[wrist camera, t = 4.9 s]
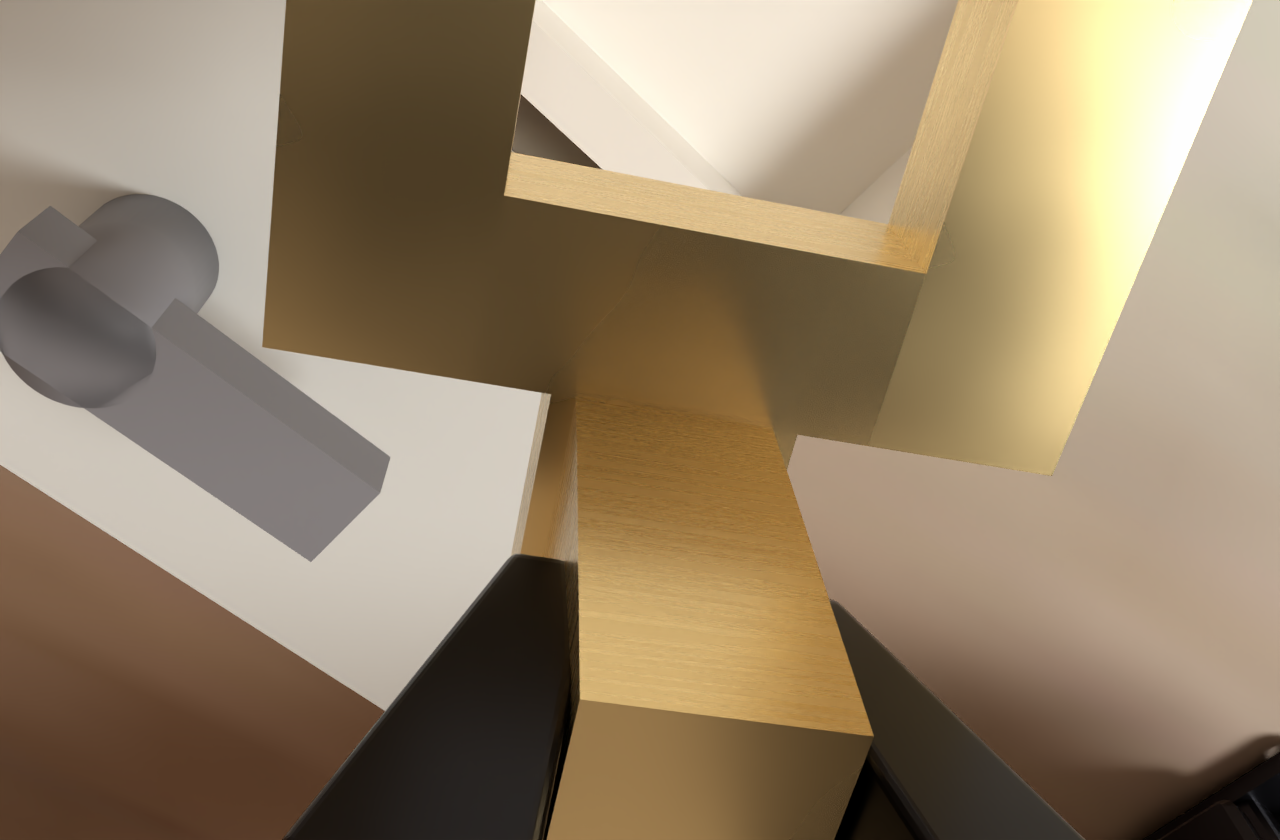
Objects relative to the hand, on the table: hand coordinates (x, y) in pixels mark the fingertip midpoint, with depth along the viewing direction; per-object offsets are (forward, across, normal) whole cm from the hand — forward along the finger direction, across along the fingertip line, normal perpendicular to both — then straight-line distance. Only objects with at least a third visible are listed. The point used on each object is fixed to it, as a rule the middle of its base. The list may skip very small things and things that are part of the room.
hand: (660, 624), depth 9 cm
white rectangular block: (+11, +5, +4) cm, 13 cm away
